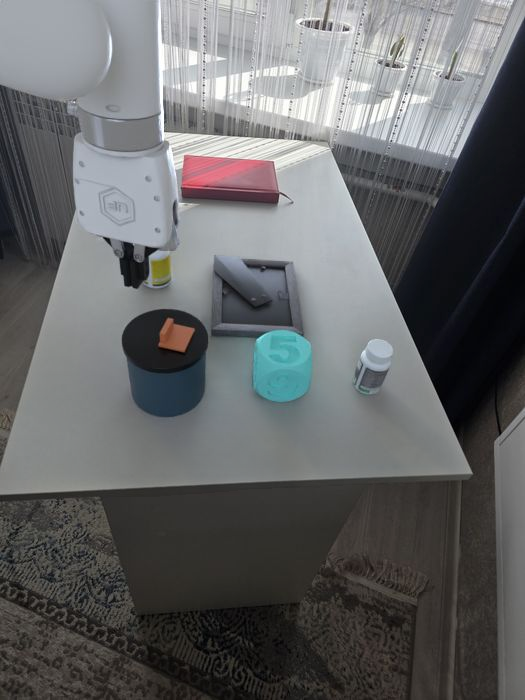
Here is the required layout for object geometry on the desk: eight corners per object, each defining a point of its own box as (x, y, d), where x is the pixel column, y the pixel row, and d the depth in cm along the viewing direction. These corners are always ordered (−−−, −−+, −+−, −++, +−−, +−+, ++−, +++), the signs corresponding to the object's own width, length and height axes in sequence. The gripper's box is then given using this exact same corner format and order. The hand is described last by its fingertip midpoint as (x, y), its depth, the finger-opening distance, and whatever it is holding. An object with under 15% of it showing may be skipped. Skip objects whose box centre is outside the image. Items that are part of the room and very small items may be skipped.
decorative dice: (300, 365, 78) (309, 330, 72) (305, 403, 72) (314, 369, 66) (252, 362, 77) (257, 327, 71) (253, 401, 71) (258, 366, 66)
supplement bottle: (176, 276, 90) (174, 232, 83) (163, 292, 87) (160, 248, 80) (150, 269, 91) (147, 224, 84) (136, 284, 87) (131, 239, 80)
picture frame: (213, 263, 95) (210, 335, 80) (214, 254, 93) (211, 327, 79) (291, 268, 96) (302, 340, 82) (293, 260, 95) (304, 331, 80)
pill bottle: (386, 389, 76) (402, 354, 70) (363, 399, 74) (378, 363, 68) (368, 369, 79) (383, 333, 73) (345, 378, 77) (359, 342, 71)
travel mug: (116, 408, 68) (106, 356, 60) (146, 353, 76) (141, 300, 68) (193, 427, 67) (193, 376, 59) (215, 369, 75) (218, 318, 67)
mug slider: (158, 346, 62) (157, 336, 60) (169, 325, 65) (169, 314, 64) (184, 352, 62) (184, 342, 60) (194, 330, 65) (194, 320, 63)
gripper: (26, 122, 42) (62, 285, 55) (186, 157, 41) (184, 314, 54) (68, 98, 47) (92, 251, 60) (210, 128, 46) (203, 277, 59)
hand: (136, 281), depth 57 cm, fingers closed
